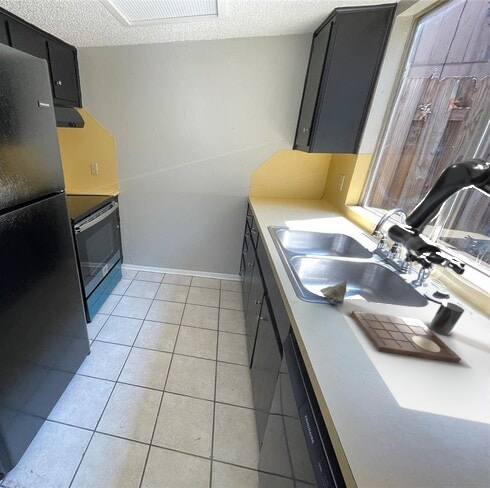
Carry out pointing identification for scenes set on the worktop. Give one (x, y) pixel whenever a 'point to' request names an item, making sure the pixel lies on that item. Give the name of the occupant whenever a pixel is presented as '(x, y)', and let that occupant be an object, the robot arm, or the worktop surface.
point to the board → (403, 336)
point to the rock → (335, 293)
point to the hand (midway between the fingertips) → (445, 269)
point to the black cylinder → (446, 318)
